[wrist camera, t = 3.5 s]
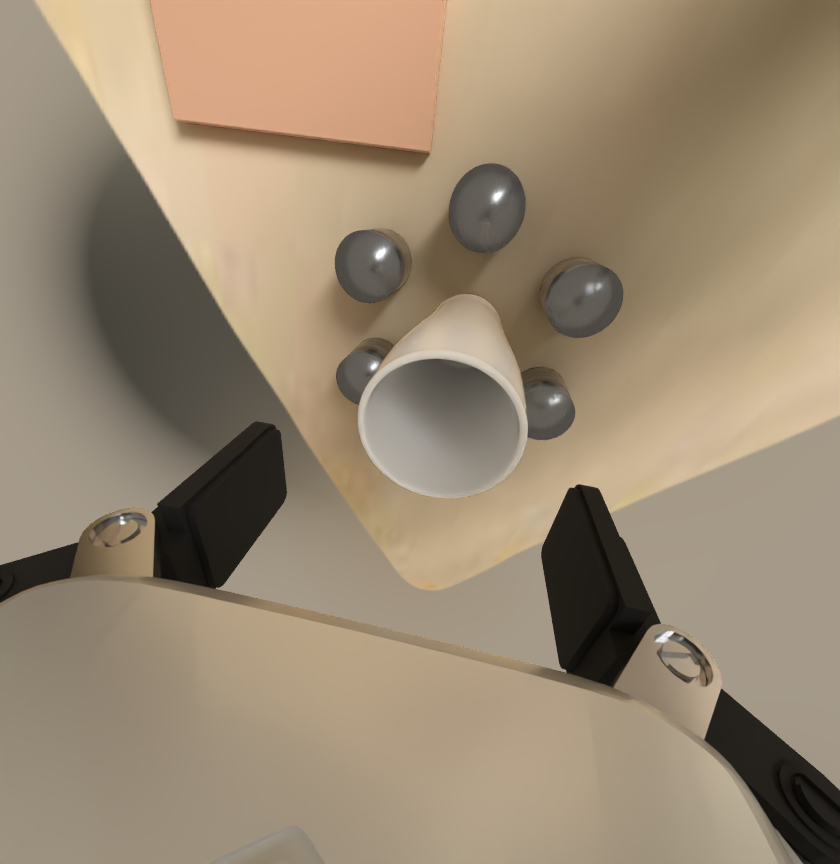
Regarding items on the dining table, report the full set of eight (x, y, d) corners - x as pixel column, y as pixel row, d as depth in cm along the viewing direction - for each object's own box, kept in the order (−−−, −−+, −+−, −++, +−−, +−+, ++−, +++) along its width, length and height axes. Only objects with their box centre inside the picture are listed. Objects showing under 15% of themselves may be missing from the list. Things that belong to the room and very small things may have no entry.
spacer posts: (641, 191, 20) (671, 186, 17) (540, 454, 30) (546, 484, 27) (358, 154, 22) (333, 143, 18) (353, 417, 32) (337, 441, 28)
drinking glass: (414, 363, 28) (350, 481, 15) (427, 272, 24) (358, 330, 12) (497, 380, 28) (502, 517, 15) (524, 291, 24) (559, 372, 11)
